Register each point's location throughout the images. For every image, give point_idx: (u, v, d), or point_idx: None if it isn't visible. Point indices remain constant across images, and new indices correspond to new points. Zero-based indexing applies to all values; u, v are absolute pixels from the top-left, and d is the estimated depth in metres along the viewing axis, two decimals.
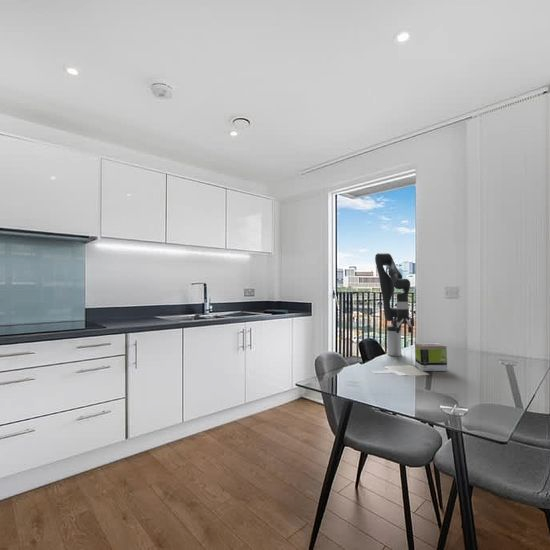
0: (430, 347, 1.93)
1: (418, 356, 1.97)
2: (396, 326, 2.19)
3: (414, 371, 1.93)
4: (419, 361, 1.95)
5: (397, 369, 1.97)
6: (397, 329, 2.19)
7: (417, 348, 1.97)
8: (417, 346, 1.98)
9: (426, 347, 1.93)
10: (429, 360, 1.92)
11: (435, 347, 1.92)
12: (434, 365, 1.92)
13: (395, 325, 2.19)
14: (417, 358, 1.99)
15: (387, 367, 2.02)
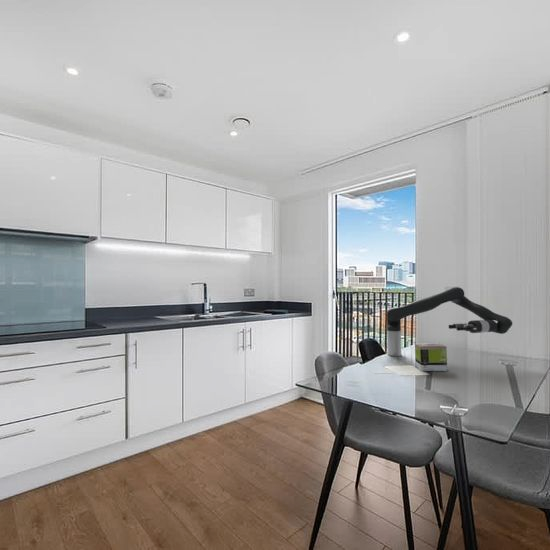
0: (430, 347, 1.93)
1: (418, 356, 1.97)
2: (465, 329, 1.94)
3: (414, 371, 1.93)
4: (419, 361, 1.95)
5: (397, 369, 1.97)
6: (461, 329, 1.95)
7: (417, 348, 1.97)
8: (417, 346, 1.98)
9: (426, 347, 1.93)
10: (429, 360, 1.92)
11: (435, 347, 1.92)
12: (434, 365, 1.92)
13: None
14: (417, 358, 1.99)
15: (387, 367, 2.02)
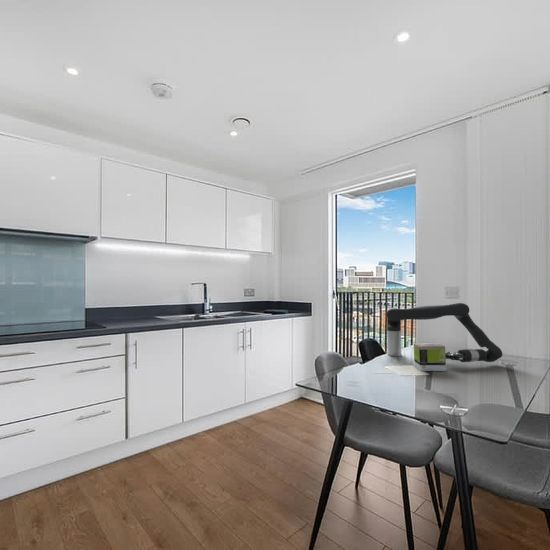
0: (429, 347, 1.93)
1: (417, 356, 1.97)
2: (450, 358, 1.97)
3: (414, 371, 1.93)
4: (418, 361, 1.95)
5: (397, 369, 1.97)
6: (446, 358, 1.97)
7: (416, 348, 1.97)
8: (416, 346, 1.98)
9: (425, 347, 1.93)
10: (428, 360, 1.92)
11: (434, 347, 1.92)
12: (432, 365, 1.92)
13: (452, 359, 1.96)
14: (416, 358, 1.99)
15: (387, 367, 2.02)
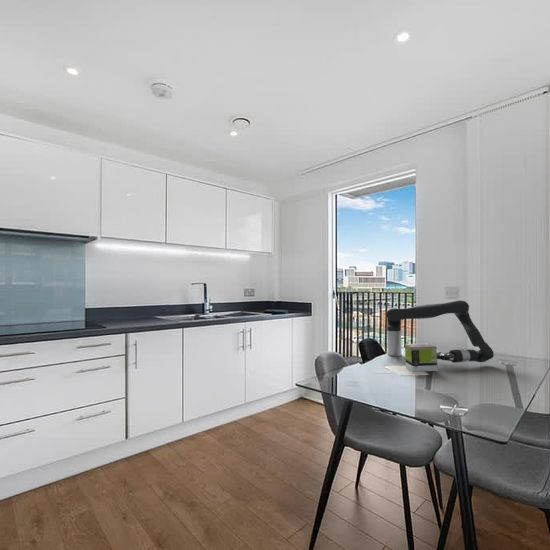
0: (421, 348, 1.92)
1: (408, 357, 1.95)
2: (441, 358, 1.96)
3: None
4: (410, 362, 1.94)
5: (397, 369, 1.97)
6: (437, 358, 1.97)
7: (408, 349, 1.96)
8: (407, 347, 1.96)
9: (417, 348, 1.92)
10: (420, 361, 1.91)
11: (425, 347, 1.92)
12: (424, 366, 1.91)
13: None
14: (407, 359, 1.97)
15: (387, 367, 2.02)
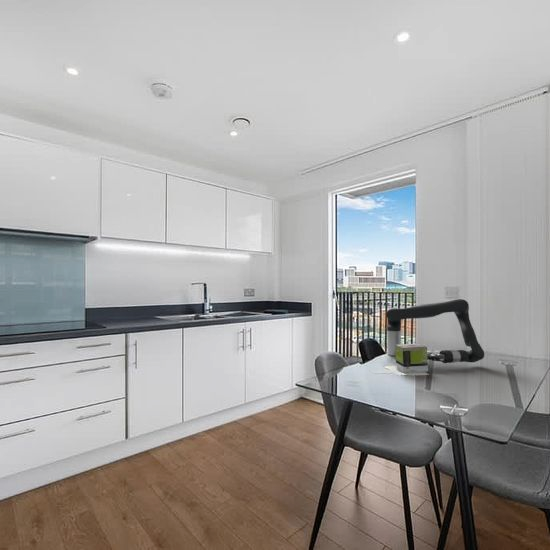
0: (412, 348, 1.91)
1: (400, 358, 1.94)
2: None
3: None
4: (401, 363, 1.92)
5: (397, 369, 1.97)
6: None
7: (399, 350, 1.94)
8: (398, 347, 1.95)
9: (408, 348, 1.90)
10: (411, 361, 1.90)
11: (417, 348, 1.91)
12: (415, 366, 1.90)
13: (433, 360, 1.95)
14: (398, 360, 1.96)
15: (387, 367, 2.02)
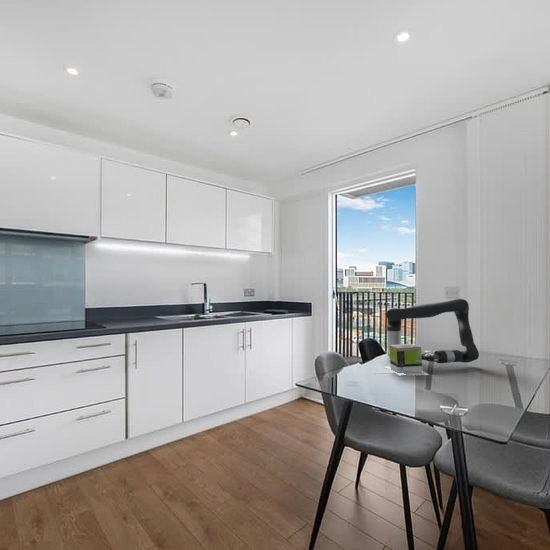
0: (406, 348, 1.90)
1: (394, 358, 1.93)
2: None
3: None
4: (395, 363, 1.92)
5: None
6: None
7: (393, 350, 1.94)
8: (393, 348, 1.94)
9: (402, 349, 1.90)
10: (405, 362, 1.90)
11: (411, 348, 1.90)
12: (409, 367, 1.90)
13: None
14: (392, 360, 1.95)
15: (387, 367, 2.02)
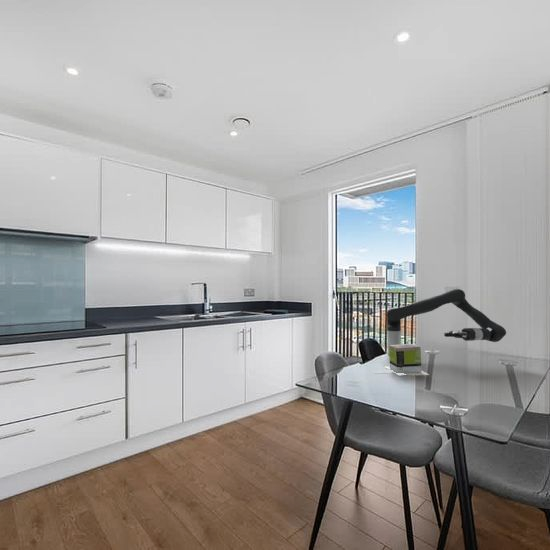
0: (405, 348, 1.90)
1: (393, 358, 1.93)
2: (453, 336, 1.97)
3: None
4: (394, 363, 1.92)
5: None
6: (449, 336, 1.98)
7: (392, 350, 1.94)
8: (392, 348, 1.94)
9: (402, 349, 1.90)
10: (404, 362, 1.90)
11: (410, 348, 1.90)
12: (409, 367, 1.90)
13: (456, 337, 1.96)
14: (392, 360, 1.95)
15: (387, 367, 2.02)
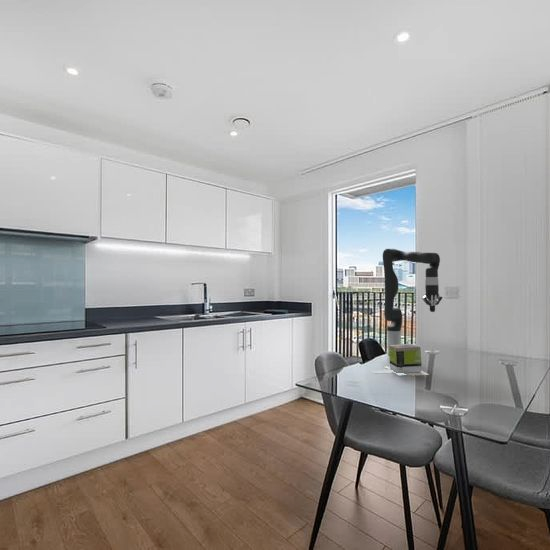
0: (405, 348, 1.90)
1: (393, 358, 1.93)
2: (430, 304, 2.07)
3: None
4: (394, 363, 1.92)
5: None
6: (431, 308, 2.07)
7: (392, 350, 1.94)
8: (392, 348, 1.94)
9: (402, 349, 1.90)
10: (404, 362, 1.90)
11: (410, 348, 1.90)
12: (409, 367, 1.90)
13: (429, 303, 2.06)
14: (392, 360, 1.95)
15: (387, 367, 2.02)
